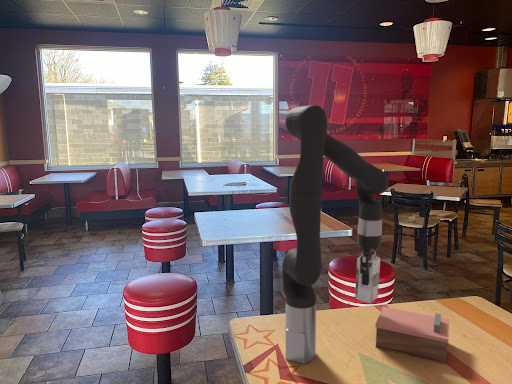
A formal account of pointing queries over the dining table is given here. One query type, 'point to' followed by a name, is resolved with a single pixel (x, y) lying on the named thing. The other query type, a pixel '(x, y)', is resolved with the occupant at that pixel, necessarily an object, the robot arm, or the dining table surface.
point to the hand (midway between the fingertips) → (367, 281)
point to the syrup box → (371, 290)
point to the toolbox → (411, 345)
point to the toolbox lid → (414, 324)
